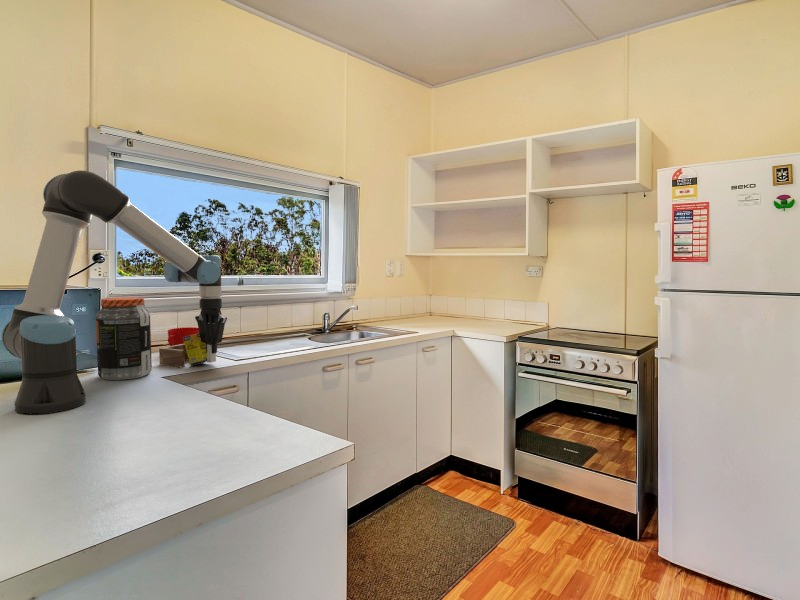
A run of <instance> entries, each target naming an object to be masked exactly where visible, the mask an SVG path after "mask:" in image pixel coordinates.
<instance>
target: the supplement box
mask: <svg viewBox="0 0 800 600" xmlns="http://www.w3.org/2000/svg"><path fill="white" fill-rule="evenodd" d="M183 340H184V344H185V347H186V351H187V354H188V358H189V360H188V362H189V364H190V365H189V366H191V367H192V366H195V365H200V364H203V363H208V362H207V352H206V344H205V343H204V342H201V338H200V333H197V334H193V335H190V336H186V337H183Z"/></svg>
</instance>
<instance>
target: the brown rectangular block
mask: <svg viewBox="0 0 800 600" xmlns="http://www.w3.org/2000/svg"><path fill="white" fill-rule="evenodd" d="M158 352H159V354H158V355H159V356H158V358H159V365H161V366H163V365H164V366H168V367H169V366H170V367H177V368H183V367H185V364H186V363H185V361H189V358H188V354H187V351H186V347H185V344H179V345H174V346H170V345H169V346H165V347H160V348H159V351H158Z"/></svg>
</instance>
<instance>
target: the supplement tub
mask: <svg viewBox="0 0 800 600" xmlns="http://www.w3.org/2000/svg"><path fill="white" fill-rule="evenodd" d="M100 300H101V301H100V306H101V308H100V309H99V311H98V312H97V313H96V316H95V331H96V332H95V333H96V357H97V376H98V377H99V378H100V379H102V380H108V381H121V380H123V381H124V380H133V379H138V378H142V377H144V376H146V375H149V374H150V373H151V371H152V367H153V366H152V364H153V363H152V362H153V361H152V335H151V334H152V333H151V330H152V329H151V315H150V312H149V310H148V309H147V308H146V306H145V304H146V303H145V298H144V297H111V298H109V297H108V298H101V299H100Z"/></svg>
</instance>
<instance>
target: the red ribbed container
mask: <svg viewBox="0 0 800 600" xmlns="http://www.w3.org/2000/svg"><path fill="white" fill-rule="evenodd" d="M197 333H199V328H198V327H192V326H191V327H175V328H170V329H168V330H167V344H168V345H169V346H174V345H179V344H184V340H183V337H186V336H190V335H193V334H197Z"/></svg>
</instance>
